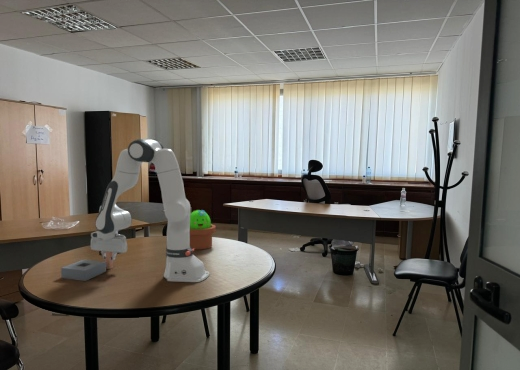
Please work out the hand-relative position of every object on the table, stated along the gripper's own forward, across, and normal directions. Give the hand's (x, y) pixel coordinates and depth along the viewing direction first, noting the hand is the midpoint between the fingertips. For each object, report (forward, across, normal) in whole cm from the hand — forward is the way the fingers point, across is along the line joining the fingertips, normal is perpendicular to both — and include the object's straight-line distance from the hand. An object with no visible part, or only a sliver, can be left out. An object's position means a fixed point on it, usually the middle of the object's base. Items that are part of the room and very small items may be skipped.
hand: (109, 259), depth 180 cm
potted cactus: (+5, -26, -55) cm, 61 cm away
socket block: (+5, +5, +12) cm, 14 cm away
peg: (+5, 0, 0) cm, 5 cm away
